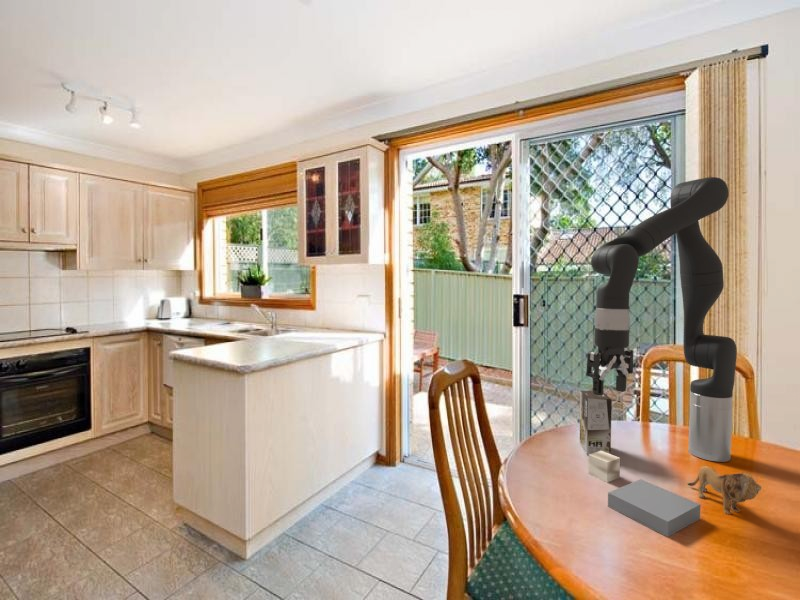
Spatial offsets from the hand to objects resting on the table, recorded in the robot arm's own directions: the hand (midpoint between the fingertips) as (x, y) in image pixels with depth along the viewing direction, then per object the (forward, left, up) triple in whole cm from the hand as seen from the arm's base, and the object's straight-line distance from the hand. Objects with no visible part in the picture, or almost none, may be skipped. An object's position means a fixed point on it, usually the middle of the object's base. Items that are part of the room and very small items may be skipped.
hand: (609, 392), depth 99 cm
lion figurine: (-9, +20, -21) cm, 31 cm away
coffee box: (-11, -12, -21) cm, 27 cm away
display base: (+7, +14, -21) cm, 26 cm away
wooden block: (+1, -1, -21) cm, 21 cm away
